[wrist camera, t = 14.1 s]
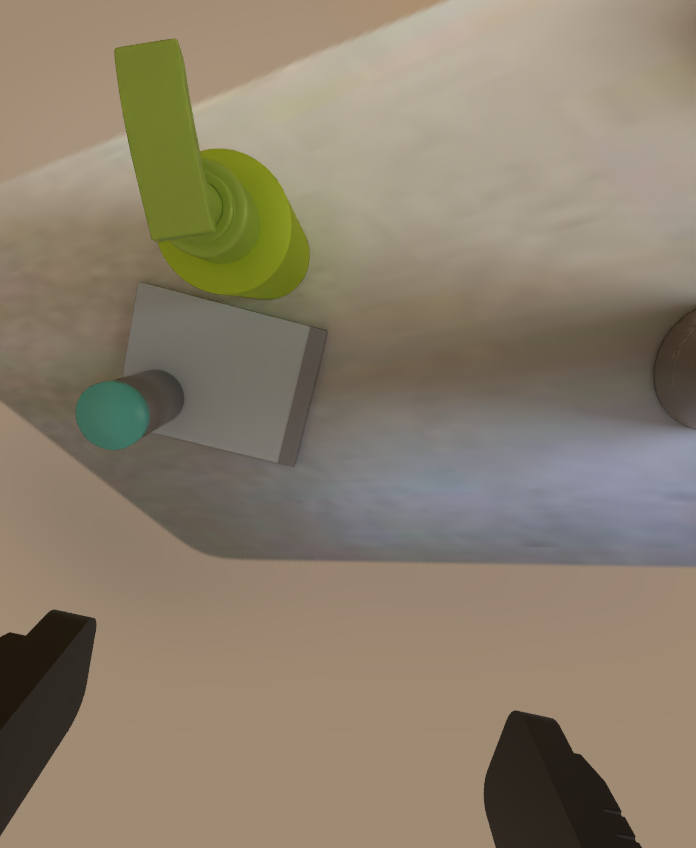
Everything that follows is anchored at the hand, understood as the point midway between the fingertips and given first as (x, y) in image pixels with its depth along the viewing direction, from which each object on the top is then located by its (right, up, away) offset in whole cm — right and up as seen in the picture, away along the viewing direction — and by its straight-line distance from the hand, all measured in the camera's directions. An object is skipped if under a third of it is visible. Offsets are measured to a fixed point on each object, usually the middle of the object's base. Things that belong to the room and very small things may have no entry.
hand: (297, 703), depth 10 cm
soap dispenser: (-5, +17, +25) cm, 31 cm away
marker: (-12, +7, +26) cm, 30 cm away
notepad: (-8, +9, +27) cm, 29 cm away
